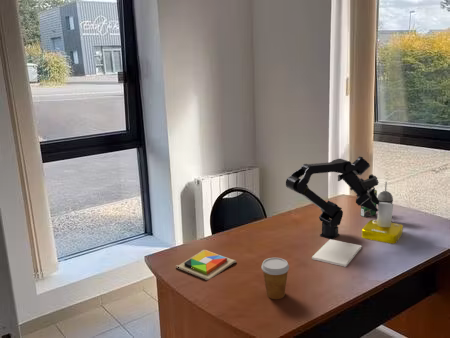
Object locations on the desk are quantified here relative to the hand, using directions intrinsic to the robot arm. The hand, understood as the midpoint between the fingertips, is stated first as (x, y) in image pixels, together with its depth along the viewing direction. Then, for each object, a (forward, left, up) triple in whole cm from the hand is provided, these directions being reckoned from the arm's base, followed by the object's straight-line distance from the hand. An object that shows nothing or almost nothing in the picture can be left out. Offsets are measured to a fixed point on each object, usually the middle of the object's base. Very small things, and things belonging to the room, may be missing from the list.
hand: (378, 207), depth 197 cm
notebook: (-4, -28, -13) cm, 31 cm away
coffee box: (-14, +20, -13) cm, 28 cm away
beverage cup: (-4, +16, -13) cm, 21 cm away
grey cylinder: (+2, +1, -8) cm, 9 cm away
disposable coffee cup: (-4, -70, -13) cm, 71 cm away
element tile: (+2, +1, -14) cm, 14 cm away
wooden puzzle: (-39, -70, -14) cm, 81 cm away
